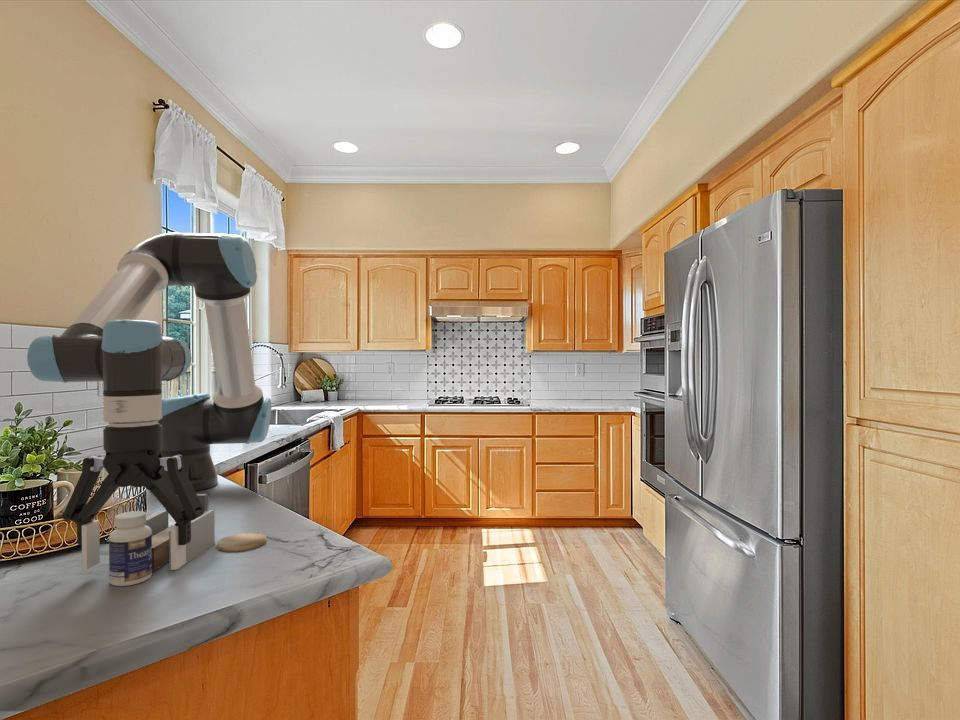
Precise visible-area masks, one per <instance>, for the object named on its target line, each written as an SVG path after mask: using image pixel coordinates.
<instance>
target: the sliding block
mask: <svg viewBox="0 0 960 720" xmlns="http://www.w3.org/2000/svg"><path fill="white" fill-rule="evenodd" d="M196 494H197V496H198V499H199V501H200V503H201V505H202V507H203V509H204V512H205V511H207V510H209V494H208V493H196ZM176 495H177V494H176ZM177 496H178V495H177ZM169 531H171V526H169V528H167V529H165V530H163V531H161V532H160V533H158V534H156V535H154V536H152V572H154V571H156V570H157V569H159V568H161V567H162V566H163V565H165V564H166V563H168V562H169Z"/></svg>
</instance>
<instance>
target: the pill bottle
mask: <svg viewBox="0 0 960 720" xmlns="http://www.w3.org/2000/svg"><path fill="white" fill-rule="evenodd" d="M146 517H147V512H146V511H143V510H132V511H126V512H121V513H119V514H116V515H115V516H114V522H113V523H114V527H115V528H116V529H114V530H112V531H111V532H110V534H109V537H108V556H109V558H108V562H109V564H108V567H109V571H108V573H109V575H108V577H109V583H110V585H112V586H115V587H129V586H133V585H137V584H140V583H143V582H146V581H148V580H149V579H150V578H151V577H152V574H153V571H152V531H151V528H150V527H149V526H146V525H145V524H144V523H146Z"/></svg>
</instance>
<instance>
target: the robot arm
mask: <svg viewBox="0 0 960 720" xmlns="http://www.w3.org/2000/svg"><path fill="white" fill-rule="evenodd" d="M257 274H258V273H257V264H256V259H255V255H254V251H253V249H252V246H251V244H250V243H249V242H248V240H247V239H246V238H245V237H244V236H242V235H239V234H229V233H224V232H223V233H221V232H219V233H217V232H216V233H215V232H214V233H213V232H212V233H210V232H207V233H206V232H205V233H204V232H203V233H202V232H168V233H163V234H159V235H155V236H153V237H151V238H148V239H146V240H144V241H143V242H140V243H139V244H137V245H135V246H134V247H133V248H131V249H130V250H129V251H127V253H125V254H124V255H123V256H122V257H121V258H120V260H119V261H118V263H117V267H116V273H115V274H114V275H113V276H112V277H111V278H110V280H109V281H108V282H107V283H106V284H105V285H104V286H103V287H102V289H101V290H100V291H99V292H98V293H97V294H96V295H95V297H93V299H91V301H90V302H89V303H88V304H87V305H86V306H85V308H83V310H82V311H81V312H80V314H78V316H76V318H74V320H73V322H71V324H70V325H69V326H68V327H67V328H66V329H65V330H64V331H63V332H62V334H60V335H56V334H50V335H43V336H42V335H41V336H39V337H36V338H34V339H33V340H32V342H31V343H30V344H29V346H28V350H27V355H26V362H27V366H28V368H29V370H30V373H31V374H32V376H33V377H34V378H36V379H37V380H39V381H41V382H55V383H57V382H58V383H60V382H61V383H64V384H65V383H78V382H79V383H85V382H87V383H88V382H89V383H91V382H103V383H102V385H103V387H102V388H103V391H102V395H103V396H102V400H103V401H102V403H103V408H102V417H103V418H102V421H103V422H104V423H105V424H108V425H107V426H105V427H104V428H103V429H102V432H103V433H102V437H103V439H102V441H103V447H102V448H103V450H104V451H105V456H103V457H102V456H101V455H100V454H96V455H92V456H87V457H85V458H83V459H82V467H81V474H80V476H79V478H78V481H77V482H76V484H75V487H74V489H73V491H72V494H71V495H70V498H69V500H68V502H67V505H66V507H65V509H64V510H63V513H62V519H63V520H64V521H72V522H74V523H75V524H76V535H77V536H76V538H77V539H76V540H77V541H76V543H77V545H78V546H81V569H82V570H89V569H90V568H93V567H94V566H96V565H98V564H100V563H101V562H100V561H101V558H100V557H101V553H100V549H101V547H100V546H101V545H100V543H101V541H100V540H101V539H100V537H101V535H100V534H101V533H100V519H96V518H97V516H96V515H97V514H98V513H99V512H100V510H101V509H102V508H103V507H104V505H105V504H106V503H107V502H108V500H109V499H110V498H111V496H112V495H113V494H114V493H115V492H116V490H117V489H118V488H127V487H129V486H131V487H133V488H141V487H144V488H145V489H146V490H147V491H150V492H151V494H153V495H154V497H155V498H156V500H158V502H159V503H160V504H161V506H162V507H163V508H164V510H167V512H168V515H169V516H170V517H171V518H172V519H173V520H174V522H175V523H172V524H170V527H171V570H170V571H177V570H176V569H178V568H179V567H180V566H182V565H183V564H185V563H186V544H187V543H189V542H190V540H191V521H192V520H194V519H196V518H198V517H200V516H202V515H203V514H204V509H203V507H202V505H201V503H200V501H199V499H198V496H197V494H198V493H197V491H201V490H206V489H208V488H212V487H215V486H217V485H218V483H219V482H218V479H219V478H218V472H217V470H216V467H215V464H214V462H213V459H212V456H211V445H226V444H227V445H229V444H233V445H234V444H246V445H249V444H256V443H261V442H264V441H265V440H266V438H267V436H268V433H269V429H270V425H271V424H270V423H271V418H272V417H271V416H272V401H271V400H272V399H271V398H270V397H267V396H265V397H264V395H263V390H262V389H261V387H260V386H258V385H256V381H255V373H254V367H253V366H254V365H253V358H252V349H251V343H250V342H251V339H250V335H249V327H248V326H249V325H248V317H247V316H248V315H247V310H246V309H247V307H246V302H245V301H246V300H245V299H246V298H247V297H248V296H249V295H250V294H251V288H252V287H254V286H256V283H257V277H258V275H257ZM173 286H174V287H175V286H176V287H177V286H183V287H193V288H194V292H195V293H194V294H195V297H196V298H198V299H199V300H200V301H202V302H203V303H204V310H205V314H206V320H207V329H208V333H209V342H210V347H211V353H212V359H213V365H214V366H213V367H214V371H215V377H216V384H217V385H216V386H217V391H215V393H214V394H213V396H212V398H211V396H210V393H209V392H207V393H206V392H203V393H195V394H188V395H181V396H174V397H169V398H164V399H163V389H162V388H163V385H162V384H163V382H164V381H166V382H170V381H171V382H172V380H175V379H178V378H180V377H182V376H183V375H185V373H186V372H187V371H188V370H189V368H190V366H191V363H192V353H191V350H190V349H189V346H187V344H186V343H185V342H183V340H181V339H178V338H177V337H172V336H171V335H162V327H161V324H160V323H159V322H158V321H155V320H144V319H137V318H138V317H139V316H140V314H142V312H143V311H144V309H145V307H146V306H147V305H148V303H149V302H150V300H151V299H152V298H153V296H154V295H157V294H159V293H161V292H163V291H164V290H165V289H166V288H167V287H173ZM103 469H104V470H105V471H106V472H107V473H108V474H107V475H106V477H104V479H103V481H102V482H101V483H100V486H99V488H98V489H97V490H96V491H95V493H94V494H93V496H91V495H92V492H93V490H94V488H95V485H96V484H97V481H98V479H99V477H100V474H101V471H103ZM177 495H178V496H177ZM90 496H91V498H90ZM186 564H187V563H186ZM186 564H185V565H186ZM183 566H184V565H183ZM183 566H182V567H183ZM179 569H180V568H179ZM179 569H178V570H179Z"/></svg>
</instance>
